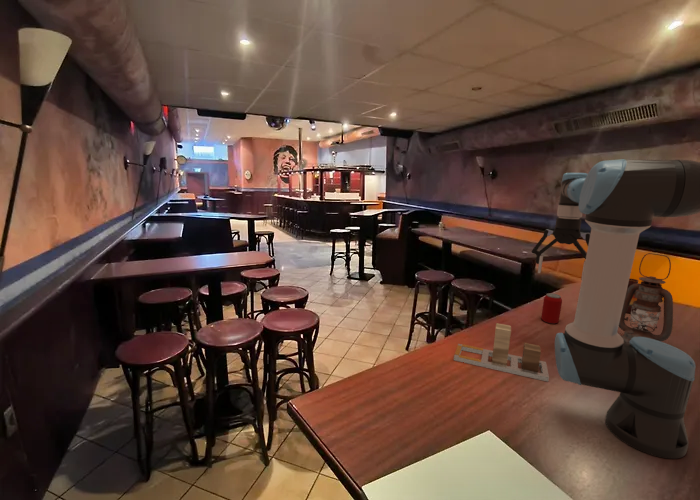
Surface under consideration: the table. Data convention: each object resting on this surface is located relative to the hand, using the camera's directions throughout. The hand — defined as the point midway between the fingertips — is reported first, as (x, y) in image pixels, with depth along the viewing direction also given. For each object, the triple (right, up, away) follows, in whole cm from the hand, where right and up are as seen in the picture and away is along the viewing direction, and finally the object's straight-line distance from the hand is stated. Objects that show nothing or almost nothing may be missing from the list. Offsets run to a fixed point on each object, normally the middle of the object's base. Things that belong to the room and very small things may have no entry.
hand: (560, 275), depth 125 cm
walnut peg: (-19, -29, -14) cm, 37 cm away
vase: (+56, -20, +39) cm, 71 cm away
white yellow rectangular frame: (-27, -28, -10) cm, 40 cm away
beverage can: (+11, -22, +25) cm, 35 cm away
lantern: (+34, -26, +6) cm, 43 cm away
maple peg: (-27, -28, -10) cm, 40 cm away
